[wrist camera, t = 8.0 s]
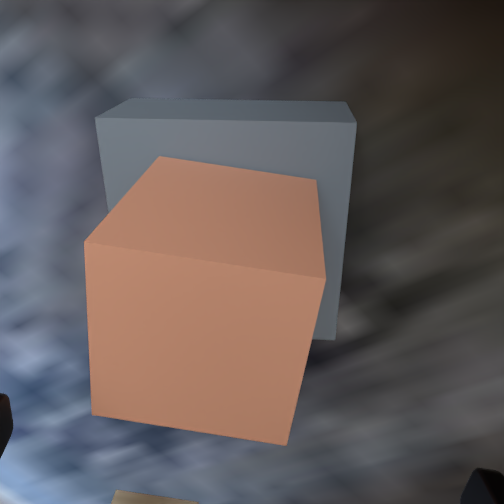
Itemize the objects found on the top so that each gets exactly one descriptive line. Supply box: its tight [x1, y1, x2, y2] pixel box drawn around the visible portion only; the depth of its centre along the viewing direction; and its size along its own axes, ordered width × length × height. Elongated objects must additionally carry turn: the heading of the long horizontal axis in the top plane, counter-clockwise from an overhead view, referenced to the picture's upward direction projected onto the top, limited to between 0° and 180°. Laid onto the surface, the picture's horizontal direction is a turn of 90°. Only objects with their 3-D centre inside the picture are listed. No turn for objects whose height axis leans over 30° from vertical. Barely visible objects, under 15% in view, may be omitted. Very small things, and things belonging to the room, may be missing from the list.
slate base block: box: [95, 98, 357, 340], centre depth 18 cm, size 8×8×4 cm
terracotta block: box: [84, 156, 326, 446], centre depth 14 cm, size 5×5×6 cm
